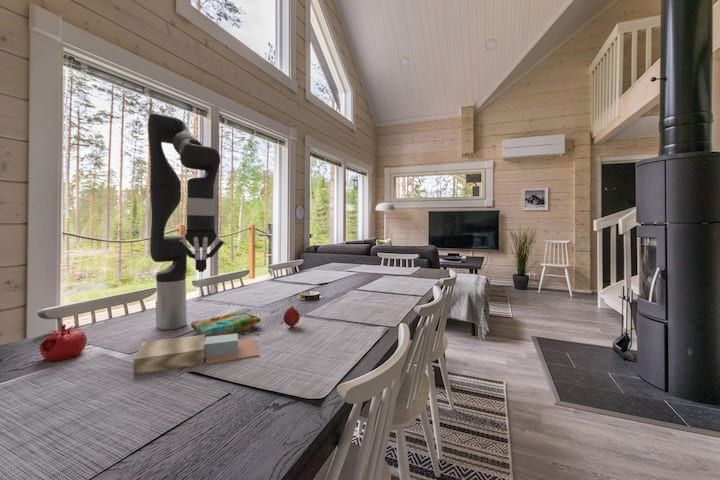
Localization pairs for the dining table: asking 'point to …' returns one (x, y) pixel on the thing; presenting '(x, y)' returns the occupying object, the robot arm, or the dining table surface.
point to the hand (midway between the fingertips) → (201, 271)
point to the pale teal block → (221, 345)
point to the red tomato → (63, 344)
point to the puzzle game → (225, 324)
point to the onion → (291, 317)
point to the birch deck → (169, 354)
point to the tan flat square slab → (244, 351)
